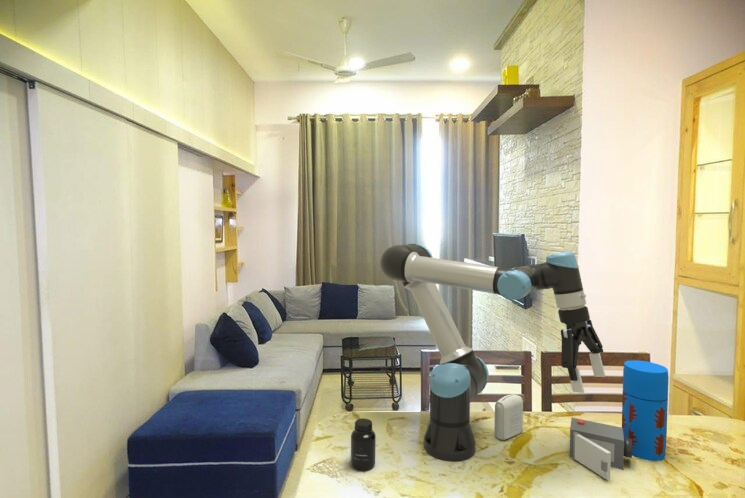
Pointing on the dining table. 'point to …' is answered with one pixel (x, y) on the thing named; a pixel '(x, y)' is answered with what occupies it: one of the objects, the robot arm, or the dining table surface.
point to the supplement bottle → (363, 445)
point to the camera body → (603, 439)
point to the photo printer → (508, 416)
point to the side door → (591, 455)
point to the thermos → (645, 408)
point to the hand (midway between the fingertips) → (589, 384)
